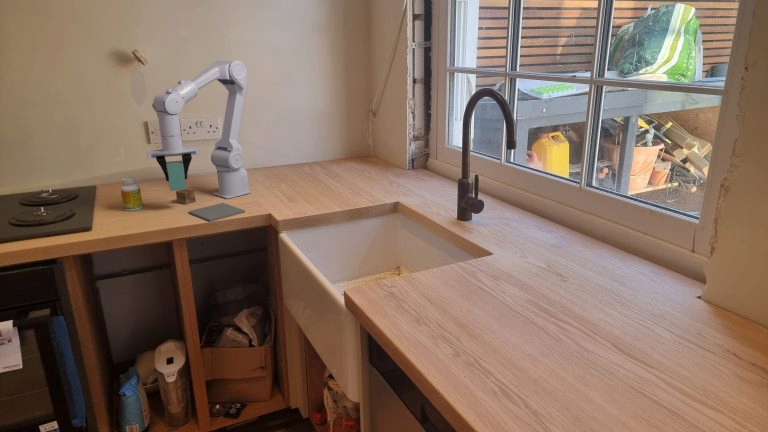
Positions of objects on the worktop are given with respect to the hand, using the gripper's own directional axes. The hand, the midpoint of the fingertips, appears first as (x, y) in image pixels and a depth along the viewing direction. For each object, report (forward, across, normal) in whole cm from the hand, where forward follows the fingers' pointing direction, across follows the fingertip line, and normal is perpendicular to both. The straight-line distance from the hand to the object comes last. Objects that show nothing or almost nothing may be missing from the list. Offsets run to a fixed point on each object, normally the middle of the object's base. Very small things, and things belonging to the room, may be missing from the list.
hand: (176, 179), depth 159 cm
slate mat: (+10, -10, +8) cm, 16 cm away
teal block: (+3, 0, 0) cm, 3 cm away
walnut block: (+10, -3, -7) cm, 12 cm away
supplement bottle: (+10, +13, -7) cm, 18 cm away
